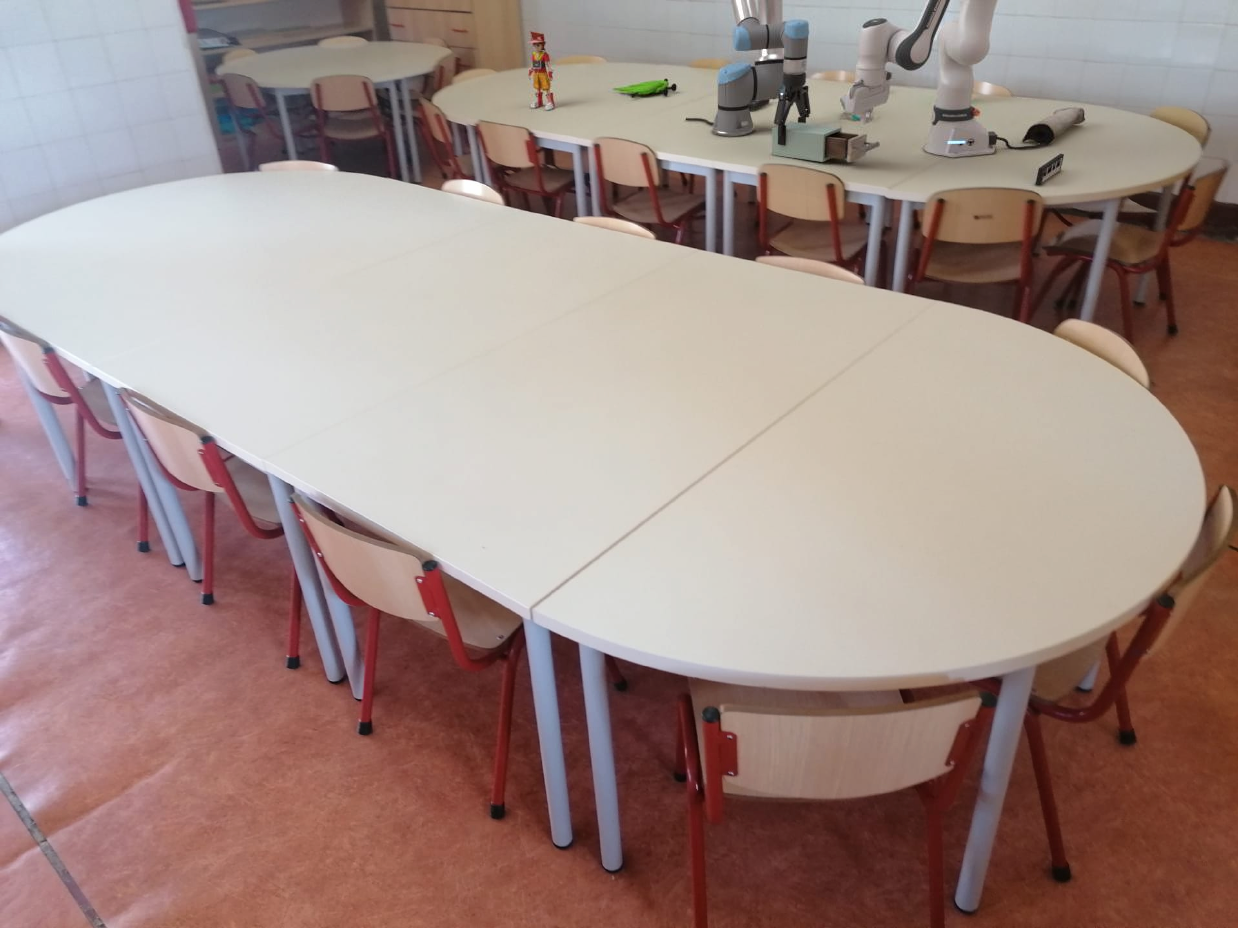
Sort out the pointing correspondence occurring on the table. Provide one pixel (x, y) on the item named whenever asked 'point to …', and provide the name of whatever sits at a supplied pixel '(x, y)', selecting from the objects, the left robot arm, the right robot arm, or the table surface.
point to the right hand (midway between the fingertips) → (864, 123)
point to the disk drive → (757, 104)
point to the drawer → (847, 146)
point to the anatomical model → (843, 101)
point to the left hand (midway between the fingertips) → (791, 141)
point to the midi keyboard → (1049, 169)
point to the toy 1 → (541, 71)
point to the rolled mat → (1054, 125)
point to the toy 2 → (648, 88)
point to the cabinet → (803, 141)
